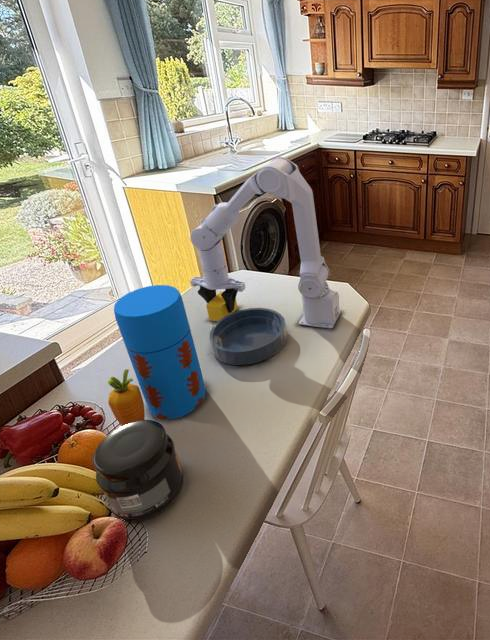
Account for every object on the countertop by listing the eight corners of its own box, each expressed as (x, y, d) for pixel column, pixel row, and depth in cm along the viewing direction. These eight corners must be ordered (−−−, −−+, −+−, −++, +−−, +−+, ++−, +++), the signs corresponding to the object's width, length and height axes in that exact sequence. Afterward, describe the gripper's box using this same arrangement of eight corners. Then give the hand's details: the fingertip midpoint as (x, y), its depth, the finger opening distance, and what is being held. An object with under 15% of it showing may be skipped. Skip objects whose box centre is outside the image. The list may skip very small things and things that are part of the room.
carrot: (147, 418, 81) (126, 360, 74) (158, 432, 78) (137, 373, 71) (119, 434, 77) (94, 375, 70) (130, 449, 74) (104, 389, 68)
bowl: (297, 325, 109) (295, 311, 107) (268, 371, 93) (266, 356, 91) (236, 318, 111) (233, 304, 109) (197, 361, 95) (193, 346, 93)
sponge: (237, 307, 115) (234, 292, 113) (224, 322, 109) (221, 306, 107) (223, 306, 116) (220, 291, 114) (209, 320, 110) (205, 305, 107)
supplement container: (169, 453, 74) (153, 405, 69) (196, 490, 68) (180, 442, 62) (103, 494, 67) (78, 446, 61) (126, 541, 61) (101, 491, 55)
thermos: (183, 424, 80) (151, 321, 68) (136, 415, 81) (97, 312, 70) (216, 385, 89) (193, 288, 78) (173, 377, 91) (144, 281, 79)
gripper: (247, 262, 108) (254, 304, 114) (197, 257, 110) (207, 299, 116) (234, 275, 102) (242, 319, 108) (181, 269, 104) (192, 313, 110)
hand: (223, 309), depth 112 cm, fingers closed on sponge, 4 cm apart
